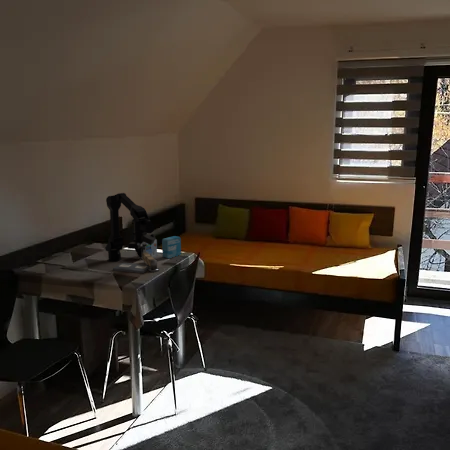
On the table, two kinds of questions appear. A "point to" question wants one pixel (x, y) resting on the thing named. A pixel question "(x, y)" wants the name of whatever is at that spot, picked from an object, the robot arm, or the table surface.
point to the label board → (132, 267)
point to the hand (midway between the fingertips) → (140, 257)
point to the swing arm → (149, 260)
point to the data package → (171, 247)
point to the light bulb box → (151, 249)
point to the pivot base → (153, 270)
